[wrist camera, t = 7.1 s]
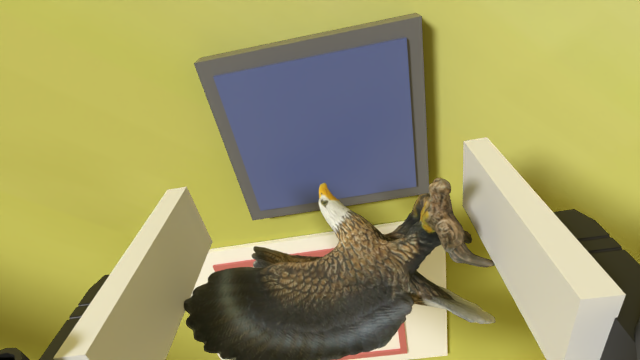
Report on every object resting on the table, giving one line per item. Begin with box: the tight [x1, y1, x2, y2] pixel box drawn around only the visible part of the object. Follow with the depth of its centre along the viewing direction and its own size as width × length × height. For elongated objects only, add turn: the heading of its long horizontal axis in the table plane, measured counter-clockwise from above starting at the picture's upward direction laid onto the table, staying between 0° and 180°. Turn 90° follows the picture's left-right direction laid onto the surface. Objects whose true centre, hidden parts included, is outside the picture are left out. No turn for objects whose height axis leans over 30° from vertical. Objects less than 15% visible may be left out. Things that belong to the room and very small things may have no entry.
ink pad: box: [194, 13, 429, 220], centre depth 18 cm, size 10×9×1 cm
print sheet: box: [191, 221, 447, 360], centre depth 26 cm, size 18×14×1 cm
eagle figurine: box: [184, 178, 495, 360], centre depth 13 cm, size 8×7×9 cm
